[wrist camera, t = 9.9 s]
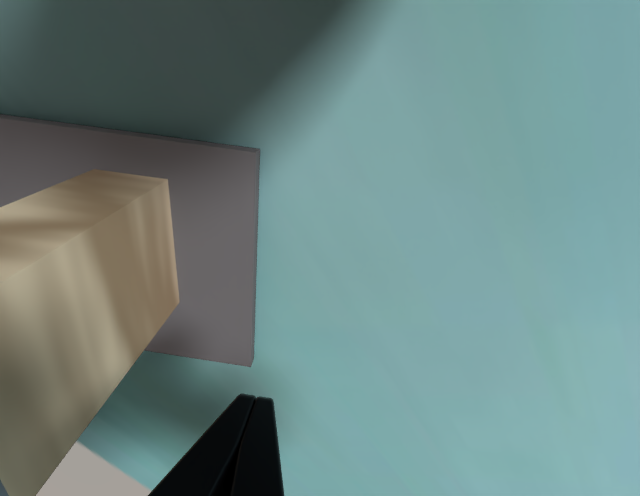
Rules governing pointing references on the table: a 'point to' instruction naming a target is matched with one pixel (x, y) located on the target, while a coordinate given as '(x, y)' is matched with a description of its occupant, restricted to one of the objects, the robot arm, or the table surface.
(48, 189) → the wooden block
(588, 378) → the table surface
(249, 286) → the mat
